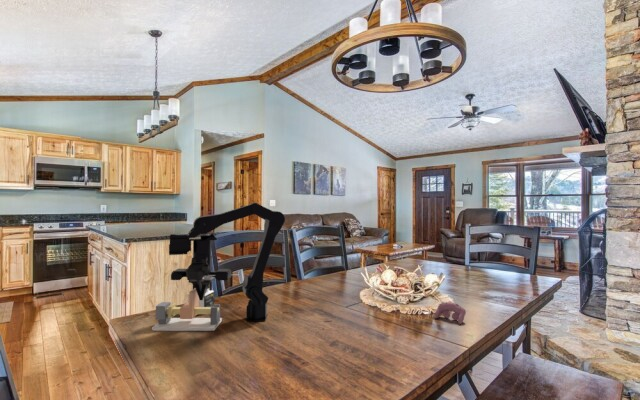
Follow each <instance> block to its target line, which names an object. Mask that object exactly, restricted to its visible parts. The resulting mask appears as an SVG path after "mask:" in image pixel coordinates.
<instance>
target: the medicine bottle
mask: <svg viewBox="0 0 640 400" xmlns="http://www.w3.org/2000/svg"><path fill="white" fill-rule="evenodd" d="M203 280H204V278H203ZM193 289H195V287H194V285H193V284H192V290H193ZM186 301H187V302H186V303H189V293H188V294H187V300H186ZM214 304H215V290H210V285H209V286H208V288H207V291H206V293H205V296H204V298H203V300H200V299H199V307H213V305H214Z"/></svg>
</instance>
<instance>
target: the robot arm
mask: <svg viewBox="0 0 640 400" xmlns="http://www.w3.org/2000/svg"><path fill="white" fill-rule="evenodd" d="M253 215H255V216H257V217H259V218H260V219H262V220H264V227H263V228H264V230H263V236H262V238H261V242H260V245H259V249H258V251H257V254H256V257H255V261H254V263H253V267H252V270H251V271H250V272H249V274H247V273H244V276H243V277H244V278H243V281H242V283H241V286H242V291H243V293H244V294H245V296H246V297H247V298H248V299H249V300H248V302H247V305H246V309H245V310H246V311H245V312H246V314H245V315H246V321H247V322H265V321H267V317H268V315H269V313H268V300H269V297H268V295H266V293H265V292H264V291H263V287H264V274H265V271H266V267H267V264H268V261H269V259H270V255H271V252H272V249H273V245H274V242H275V240H276V237H277V235H278V234H279V233H280V231H281V230H282V228H283V226H284V223H285V221H286V216H285V215H284V214H283V213H282V212H281V211H276V210H272V209H269V208H267V207H265V206H263V205H261V204H260V203H258V202H251V203H250V204H247V205H244V206H240V207H237V208H235V209H231V210H228V211H224V212H221V213H218V214H217V213H215V214H208V215H201V216H198V217H196V218H195V219H194V221H193V224H192V225H193V226H192V228H191V229H190V230H189V231H188V233H185V234H177V233H176V234H175V233H171V234H169V235H170V236H169V244H168V255H169V256H179V255H180V256H181V255H188V253H190V252H192V257H191V263H190V264H189V265H188V267H186V268H177V269H175V270H172V272H171V274H170V281H180V280H181V279H183V278H186V280H187V281H188V283H191V284H192V286H193V285H194V287H195V289H196V291H197V294H198V296H199V299H200V300H203V298H204V296H205V293H206V291H207V288H208V286H209V287H210V284H211V283H213V281H215V279H216V280H217V281H228V280H229V279H231V278H232V270H231V269H230V268H219V269H218V270H216V271H212V269H213V267H212V259H213V257H212V256H213V255H212V241H217V240H218V237H216V236H215V235H214V233H213V232H212V231H214V230H216V229H217V228H219V227H221V226H222V225H225V224H228V223H231V222H234V221H238V220H240V219H243V218H247V217H250V216H253ZM209 233H210V234H209ZM199 235H200V237H198V236H199ZM192 246H193V247H192ZM192 248H193V249H192ZM203 279H204V280H203Z"/></svg>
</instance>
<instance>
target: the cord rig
mask: <svg viewBox="0 0 640 400" xmlns="http://www.w3.org/2000/svg"><path fill="white" fill-rule="evenodd" d="M181 307H182V306H177V303H172V302H171V301H161V302H160V303H158V304H157V305H156V306H155V320H158V322H157V323H156V324H155V325H154V326H152V328H151V330H152V331H155V332H156V331H158V332H159V331H167V332H169V331H172V332H173V331H175V332H176V331H177V332H178V331H179V332H181V331H182V332H183V331H184V332H186V331H189V332H190V331H193V332H194V331H195V332H199V331H201V332H202V331H204V332H206V331H208V332H209V331H210V332H211V331H213V332H214V331H215V330H217V328H218V327H219V325H221V322H222V321H223V317H221V304H220V303H219V304H216V303H214V305H213V307H195V308H194V314H197V315H210V317H194V318H193V319H180V317H175V316H177V315H180V308H181Z"/></svg>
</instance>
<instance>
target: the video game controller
mask: <svg viewBox="0 0 640 400" xmlns="http://www.w3.org/2000/svg"><path fill="white" fill-rule="evenodd" d="M450 312H453V313H450ZM466 313H467V311H466V308H464V307H462V305H459V304H458V303H455V302H451V301H447V302H441V303H439V304H438V306H437V308H436V310H435V313H434V318H435V319H439V318H440V317H441V315H442V316H443V317H444V318H445V319H449V318H450V317H451V319H453V321H457V322H458V324H459V325H462V323H463V322H464V320H465V316H466ZM451 314H452V315H451Z"/></svg>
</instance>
